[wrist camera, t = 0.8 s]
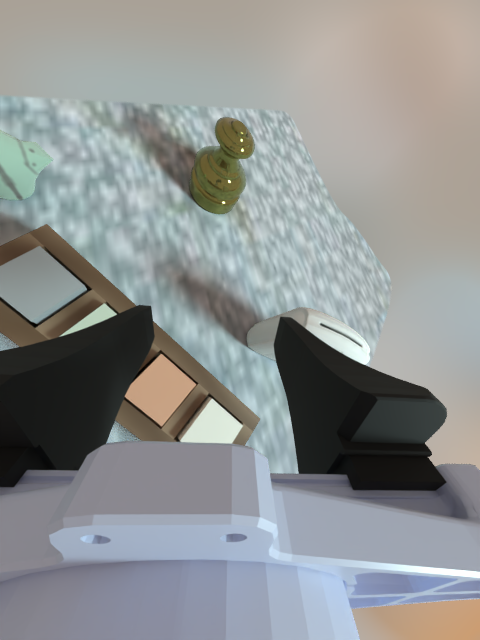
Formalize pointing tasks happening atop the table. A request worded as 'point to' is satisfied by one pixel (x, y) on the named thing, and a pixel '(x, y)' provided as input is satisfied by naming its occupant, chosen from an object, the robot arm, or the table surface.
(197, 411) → the ivory key
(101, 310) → the sage key
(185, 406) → the keyboard
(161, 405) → the terracotta key
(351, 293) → the table surface
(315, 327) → the white rounded slab
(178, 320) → the table surface
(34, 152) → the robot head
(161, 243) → the table surface
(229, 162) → the olive green vase
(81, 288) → the slate key
